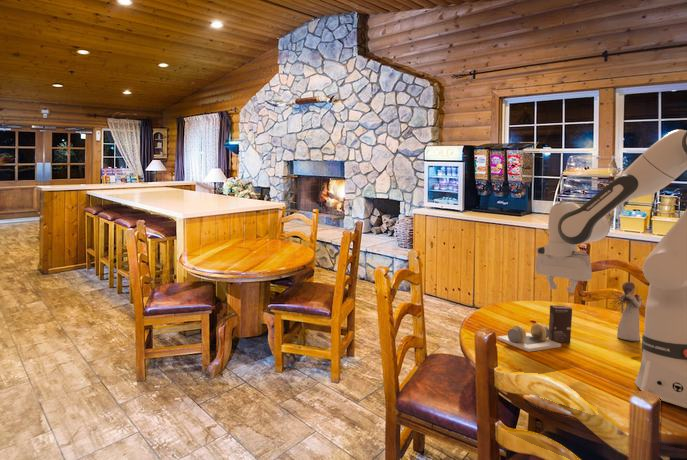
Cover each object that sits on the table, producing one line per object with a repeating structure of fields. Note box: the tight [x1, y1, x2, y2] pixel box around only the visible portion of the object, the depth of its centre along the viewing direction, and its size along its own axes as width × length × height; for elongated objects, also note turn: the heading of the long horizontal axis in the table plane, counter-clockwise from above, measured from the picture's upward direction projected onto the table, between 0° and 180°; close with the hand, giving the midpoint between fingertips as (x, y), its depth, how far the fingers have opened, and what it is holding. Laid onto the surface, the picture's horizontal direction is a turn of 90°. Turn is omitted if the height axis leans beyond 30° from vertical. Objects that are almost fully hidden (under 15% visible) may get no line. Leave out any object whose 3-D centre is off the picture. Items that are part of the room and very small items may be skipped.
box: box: [547, 304, 573, 344], centre depth 149 cm, size 6×4×12 cm
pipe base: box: [496, 323, 562, 353], centre depth 146 cm, size 14×14×6 cm
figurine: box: [610, 281, 643, 342], centre depth 152 cm, size 10×10×20 cm
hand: (561, 290), depth 148 cm, fingers open, 6 cm apart
